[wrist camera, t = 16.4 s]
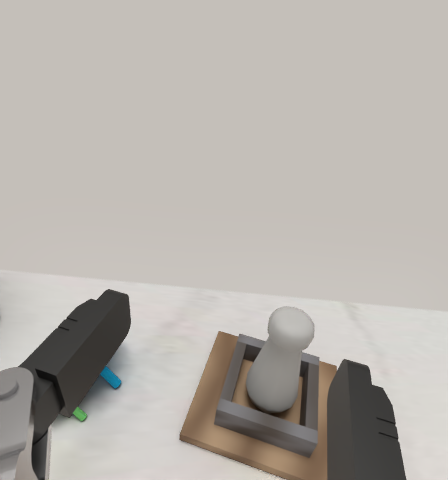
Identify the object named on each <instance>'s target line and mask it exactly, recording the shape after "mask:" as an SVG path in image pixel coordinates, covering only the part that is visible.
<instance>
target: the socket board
mask: <svg viewBox="0 0 448 480" xmlns="http://www.w3.org/2000/svg"><path fill="white" fill-rule="evenodd" d="M265 342H266V341H262V340H259V339H256V338H252V337H249V336H246V335H242V334H239V337H237V336H234V335H231V334H227V333H224V332H221V331H219V332H218V335H217V338H216V340H215V343H214V345H213V348H212V351H211V353H210V356H209V359H208V361H207V364H206V367H205V369H204V372H203V374H202V377H201V380H200V382H199V385H198V388H197V390H196V393H195V396H194V398H193V401H192V403H191V406H190V409H189V411H188V414H187V417H186V419H185V422H184V425H183V427H182V430H181V432H180V440H182V441H185V442H187V443H190V444H193V445H196V446H198V447H201V448H204V449H206V450H209V451H212V452H215V453H217V454H220V455H223V456H225V457H228V458H231V459H233V460H236V461H239V462H242V463H244V464H247V465H250V466H252V467H255V468H258V469H260V470H263V471H266V472H269V473H271V474H274V475H277V476H279V477H282V478H285V479H288V480H327V396H328V391H329V387H330V384H331V382H332V380H333V378H334V376H335V374H336V372H337V366H335V365H331V364H328V363H325V362H321V361H319V357H316V356H313V355H310V354H306V353H303V352H302V356H301V365H300V373H299V385H298V396H297V399H296V400H295V402H294V403H293V405H292V407H291V408H290V409H287V410H285V411H283V412H281V413H270V414H266V413H264V412H263V411H261V410H260V409H259V408H258V407H256V406H255V405H254V404H253V403H252V401H251V399H250V398H249V395H248V391H247V387H246V379H247V373H248V371H249V369H250V368H251V366H252V364H253V363H254V361H255V359H256V358H257V356H258V354H259V352H260V351H261V349H262V347H263V346H264V344H265Z"/></svg>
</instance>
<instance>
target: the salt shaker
mask: <svg viewBox="0 0 448 480" xmlns="http://www.w3.org/2000/svg"><path fill="white" fill-rule="evenodd" d="M268 334H269V337H268V339H267V341H266V342H265V344H264V346H263V347H262V349H261V351H260V352H259V354H258V356H257V358H256V359H255V361H254V363H253V364H252V366H251V368H250V369H249V371H248V373H247V379H246V387H247V391H248V395H249V398H250V399H251V401H252V403H253V404H254V405H255V406H256V407H258V408H259V409H260V410H261V411H263V412H264V413H266V414H270V413H281V412H283V411H285V410H287V409H290V408H291V407H292V405H293V403H294V402H295V400H296V399H297V396H298V385H299V373H300V365H301V356H302V350H304V349H306V348H307V347H308V346H309V344H310V343H311V341H312V339H313V337H314V323H313V322H312V320H311V318H310V317H309V316H308V315H307V314H306V313H305V312H303V311H302V310H300V309H298V308H295V307H282V308H278V309H276V310H275V311H274V312H273V313H272V314H271V316H270V318H269V323H268Z"/></svg>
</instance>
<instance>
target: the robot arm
mask: <svg viewBox="0 0 448 480" xmlns="http://www.w3.org/2000/svg"><path fill="white" fill-rule="evenodd" d="M130 325H131V317H130V306H129V297H128V295H127V294H124V293H121V292H117V291H114V290H110V289H108V290H106V291H105V292H104V293H103V294H102V295H101V296H100V297H99V298H98V299H97V300H93V299H90V300H88V301H86V302H84V303H83V304H81V305H79V306H77V307H76V308H75V309H74V310H73V311H72V313H71V314H70V315H69V316H68V317H67V319H66V320H64V321H63V322H62V323H61V324H60V325H59V326H58V328H57V329H55V330H54V331H53V332H52V333H51V334H50V335H49V336H48V337H47V338H46V339H45V340H44V341H43V343H42V344H41V345H40V346H39V347H38V348H37V349H36V350H35V351H34V352H33V353H32V354H31V355H30V356H29V357H28V358H27V359H26V360H25V361H24V362H23V363H22V364H21V365H20V366H18V367H14V368H9V369H5V370H3V371H1V372H0V480H49V470H50V452H51V434H52V422H53V421H54V420H55V418H56V417H57V416H58V414H61V415H64V416H67V417H69V418H70V417H71V415H72V414H73V412H74V411H75V409H76V408H77V407H78V405H79V404H80V402H81V401H82V399H83V398H84V397H85V395H86V394H87V392H88V391H89V389H90V388H91V386H92V385H93V384H94V382H95V381H96V379H97V378H98V376H99V375H100V373H101V372H102V371H103V369H104V368H105V366H106V365H107V363H108V362H109V361H110V359H111V358H112V356H113V355H114V353H115V352H116V350H117V349H118V348H119V346H120V345H121V343H122V342H123V340H124V339H125V337H126V336H127V334H128V332H129V329H130ZM395 424H396V422H395V417H394V412H393V406H392V404H391V402H390V400H389V399H388V397H387V395H386V393H385V391H384V390H383V388H381V387H378V386H375V385H372V382H371V375H370V369H369V367H368V366H367V365H363V364H360V363H356V362H353V361H350V360H346V359H344V360H343V361H342V363H341V365H340V366H339V368H338V370H337V372H336V374H335V376H334V378H333V380H332V382H331V384H330V387H329V391H328V396H327V480H406V476H405V470H404V465H403V460H402V454H401V449H400V444H399V442H398V433H397V428H396V427H395Z"/></svg>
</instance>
